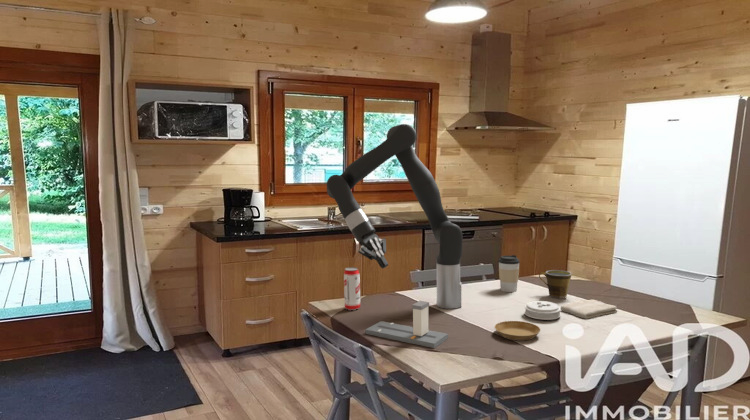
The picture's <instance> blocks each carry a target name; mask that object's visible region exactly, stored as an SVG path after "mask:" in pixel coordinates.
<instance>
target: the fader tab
mask: <svg viewBox="0 0 750 420" xmlns="http://www.w3.org/2000/svg"><path fill="white" fill-rule="evenodd" d="M429 307H430V301H424V300H418V301H417V302H414V303H413V304H411V309H412V320H413V321H412V327H413V335H418V336H423V335H424V334H426V333H427V332H429V331H428V330H429Z"/></svg>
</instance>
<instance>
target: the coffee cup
mask: <svg viewBox="0 0 750 420" xmlns="http://www.w3.org/2000/svg"><path fill="white" fill-rule="evenodd" d="M497 262H498V274H499V276H498V277H499V285H500V286H499V287H500V291H501V292H504V293H505V292H506V293H514V292H517V291H518V282H519V275H520V274H519V273H520V259H519V258H518V257H517V255H515V254H512V255H501V256H500V258H499V259H498V261H497Z"/></svg>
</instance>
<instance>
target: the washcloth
mask: <svg viewBox="0 0 750 420" xmlns="http://www.w3.org/2000/svg"><path fill="white" fill-rule="evenodd" d="M560 308H561V310H560V311H562V312H564V313H567V314H571V315H573V316H576V317H579V318H581V319H587V320H588V319H591V318H594V317H595V318H596V317H599V316H603V315H609V314H613V313H617V312H618V310H617V308H618V307H617V305H613V304H607V303H605V302H603V301H600V300H596V299H594V298H593V299H588V300H587V299H581V300H578V301H572V302H568V303H564V304H562V305H561V306H560Z"/></svg>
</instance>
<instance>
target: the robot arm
mask: <svg viewBox="0 0 750 420" xmlns="http://www.w3.org/2000/svg"><path fill="white" fill-rule="evenodd" d="M416 141H417V131H416V130H415V128H414V127H413V126H412V125H410V124H407V123H402V124H397V125H394V126H392V127H390V128H389V129H388V131H387V134H386V139H385V140H384V141H383V142H381V143H380V144H379V145H378V146H375V147H374V148H372V149H371V150H369V151H367V152H366V153H364V154H363V155H362V154H361V156H359V157H358V158H356V159H355V160H354V161H353V162H351V163H350V164H349V165H347V167H345V170H344V171H343V173H342V174H340V175H339V174H332V175H330V176H329V177H328V178H327V181H326V193H327V195H328V196H329V198H331V199H334V201H335V203H336V204H337V208H338V210H339V212H340V214H341V215H342V217H343V219H344V220H345V223H346V226H347V227H348V229H349V231H351V233H352V235H353V237H354V238H355V240H356V241H357V242H359V245H360V248H359V250H357V251H358V253H359V254H360V255H362V256H364V257H365V258H367V259H369V260H371V261H372V260H374V261H376V262H377V265H378V266H379V267H380V268H381V269H385V268H387V267H388V266H389V263H388V260H387V259H386V257H385V254H386V253H387V239H386V238H380V237H379V236H378V235H377V233H376V229H375V227H374V225H373V224H372V222H371V221H370V219H369V217H368V216H367V214H366V212H365V211H363V209H362V207H361V205H360V204H359V202H358V201H357V200H356V197H354V194H353V192H352V189H353V188H354V187H355V186H356V185H357V184H358V183H359V182H361V181H362V180H364V179H365V178H366V177H367V176H368V175H370V174H371V173H372V172H374V171H375V170H377V169H378V168H379V167H380V166H381V165H382V164H384V163H385V162H387V161H388V160H389V159H391V158H393V157H394V156H395V157H396V159H397V161H398V162H399V164H400V166H401V168H402V170H403V172H404V175H405V177H406V179H407V181H408V183H409V186H410V187H411V189H412V191H413V192H412V193H414V195H415V197H416V199H417V202H418V203H419V205H420V207H421V209H422V210H423V212H424V214H425V215H426V218H427V220H428V223H429V225H430V228H431V230H432V234H433V237H434V238H435V240H436V241H437V242H438V243H439V251H438V252H439V253H438V255H436V306H437V307H438V308H440V309H447V310H448V309H451V310H453V309H457V308H458V309H459V308H462V282H461V258H462V255H463V243H464V242H463V239H464V237H463V231H462V229H461V227H460V226H459V225H458V224H455V223H453V222H452V221H451V220H450V219H449V217H448V215H447V213H446V212H445V210H444V206H443V203H442V197H441V192H440V189H439V187H438V184H437V182H436V179H435V178H434V176H433V174H432V172H431V171H430V170H429V169H428V168H427V166H426V165H425V164H424V163H423V162H422V161H421V160H420V158H419V157H418V156H417V154H416V151H415V150H414V148H413V145H414V144H415V143H416Z"/></svg>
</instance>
